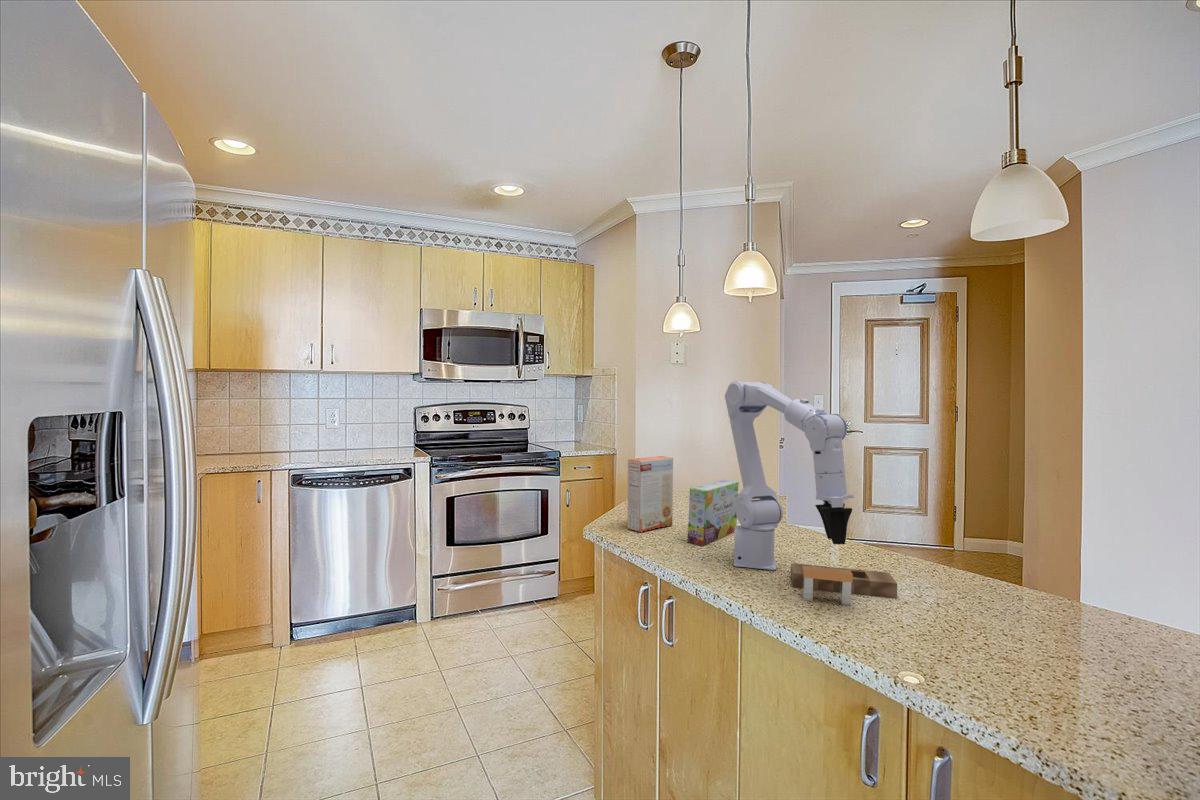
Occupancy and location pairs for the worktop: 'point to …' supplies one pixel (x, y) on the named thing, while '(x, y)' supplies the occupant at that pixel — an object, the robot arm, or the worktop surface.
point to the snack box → (712, 511)
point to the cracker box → (650, 493)
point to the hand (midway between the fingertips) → (836, 541)
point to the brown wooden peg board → (862, 582)
